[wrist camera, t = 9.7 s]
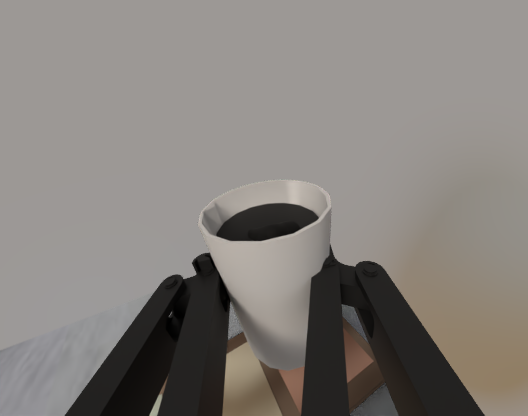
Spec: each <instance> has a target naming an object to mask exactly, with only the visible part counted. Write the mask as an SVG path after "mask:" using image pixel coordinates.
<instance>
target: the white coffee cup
mask: <svg viewBox="0 0 528 416" xmlns="http://www.w3.org/2000/svg"><path fill="white" fill-rule="evenodd" d="M198 226H199V228H200V231H201V233H202V235H203V238H204V240H205V242H206V245H207V247H208V249H209V252H210V254H211V257H212V259H213V260H214V264H215V265H216V268H217V270H218V271H219V274H220V276H221V279H222V281H223V284H224V286H225V288H226V291H227V293H228V296H229V298H230V301H231V304H232V306H233V308H234V311H235V313H236V316H237V318H238V320H239V323H240V325H241V327H242V330H243V332H244V334H245V337H246V339H247V342H248V344H249V346H250V347H251V349H252V351H253V353H254V355H255V356H256V358H258V359H259V360H260V361H262V362H263V363H265V364H266V365H267V366H269V367H270V368H275V369H281V370H286V371H289V370H293V369H296V368H300V367H303V366H305V355H306V341H307V328H308V315H309V301H310V288H311V277H313V276H314V275H316V274H317V273H318V272H320V270H321V269H322V266H323V263H324V261H325V259H326V258H328V256H329V251H330V228H331V200H330V195H329V194H328V193H327V192H326V191H325V190H323V189H322V188H321V187H320V186H318V185H314V184H311V183H308V182H305V181H297V180H271V181H262V182H257V183H253V184H248V185H245V186H241V187H239V188H236V189H233V190H230V191H228V192H226V193H224V194H222V195H221V196H219V197H217V198H215V199H214V200H212V201H211V202H210V203H209V204H208V205H207V206H206V207H205V208H204V209H203V210H202V211H201V213H200V217H199V221H198Z"/></svg>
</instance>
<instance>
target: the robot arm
mask: <svg viewBox="0 0 528 416" xmlns="http://www.w3.org/2000/svg"><path fill="white" fill-rule="evenodd" d="M192 264H193V266H194V269H195V271H196V273H197V274H196V275H195V276H193V277H190V278H187V279H183V277H182V276H181V275H172V276H170V277H168V278H166V279H165V280H164V281H163V282H162V283H161V284H160V286H159V287H158V288H157V290H156V291H155V292H154V294H153V295H152V296H151V298H150V299H149V300H148V302H147V303H146V305H145V306H144V307H143V309H142V310H141V311H140V313H139V314H138V316H137V317H136V318H135V320H134V321H133V322H132V324H131V325H130V327H129V328H128V329H127V331H126V332H125V333H124V335H123V336H122V338H121V339H120V340H119V342H118V343H117V344H116V346H115V347H114V349H113V350H112V351H111V353H110V354H109V355H108V357H107V358H106V360H105V361H104V362H103V364H102V365H101V366H100V368H99V369H98V371H97V372H96V373H95V375H94V376H93V377H92V379H91V380H90V382H89V383H88V384H87V386H86V387H85V388H84V390H83V391H82V393H81V394H80V395H79V397H78V398H77V399H76V401H75V402H74V404H73V405H72V406H71V408H70V409H69V410H68V412H67V413H66V414H65V416H149V415H150V413H151V411H152V409H153V407H154V404H155V402H156V400H157V398H158V396H159V394H160V392H161V389H162V387H163V385H164V383H165V381H166V379H167V382H166V385H165V389H164V393H163V396H162V400H161V403H160V407H159V411H158V414H157V416H222V414H223V399H224V384H225V370H226V355H227V341H228V326H229V311H230V298H229V296H228V293H227V291H226V288H225V286H224V284H223V281H222V279H221V276H220V274H219V271H218V270H217V268H216V265H215V264H214V260H213V259H212V257H211V254H210V253H204V254H201V255H199V256H198V257H196V258H195V259H194V260H193V262H192ZM341 304H344V305H348V306H352V307H354V308H355V311H356V313H357V315H358V318H359V320H360V323H361V325H362V327H363V330H364V332H365V335H366V337H367V340H368V342H369V344H370V347H371V349H372V352H373V354H374V356H375V359H376V361H377V364H378V366H379V369H380V371H381V373H382V376H383V378H384V381H385V383H386V385H387V388H388V390H389V393H390V395H391V398H392V400H393V402H394V405H395V407H396V410H397V412H398V414H399V416H485V415H484V414H483V412H482V411H481V410H480V408H479V407H478V405H477V404H476V402H475V401H474V399H473V398H472V396H471V395H470V394H469V392H468V391H467V389H466V388H465V386H464V385H463V383H462V382H461V380H460V379H459V378H458V376H457V375H456V373H455V372H454V370H453V369H452V368H451V366H450V364H449V363H448V362H447V360H446V359H445V357H444V356H443V354H442V353H441V351H440V350H439V348H438V347H437V345H436V344H435V343H434V341H433V340H432V338H431V337H430V335H429V334H428V332H427V331H426V330H425V328H424V326H422V324H421V322H420V321H419V319H418V318H417V316H416V315H415V313H414V312H413V311H412V309H411V308H410V306H409V305H408V303H407V302H406V300H405V299H404V297H403V296H402V294H401V293H400V292H399V290H398V289H397V287H396V286H395V284H394V283H393V281H392V280H391V278H390V277H389V276H388V274H387V273H386V271H385V270H384V269H383V268H382V266H381V265H378V264H377V263H375V262H371V261H363V262H359V263H358V264H357V265H356V267H354V266H348V265H344V264H342V263H340V262H338V261H337V260H336V259H335V257H334V255H333V252H332V249H331V245H330V251H329V256H328V258H326V259H325V261H324V263H323V266H322V269H321V270H320V272H318V273H317V274H316V275H314V276H313V277H311V288H310V301H309V315H308V328H307V341H306V355H305V368H304V381H303V394H302V408H301V416H350V412H349V399H348V386H347V372H346V359H345V345H344V332H343V318H342V305H341ZM171 312H172V314H171ZM170 314H171V315H170ZM169 315H170V316H169ZM168 374H169V375H168ZM167 376H168V378H167Z"/></svg>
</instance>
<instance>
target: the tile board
mask: <svg viewBox="0 0 528 416" xmlns="http://www.w3.org/2000/svg"><path fill="white" fill-rule="evenodd" d="M342 318H343V317H342ZM343 332H344V345H345V359H346V372H347V386H348V399H349V412H350V413H351V412H352V411H353V410H354V409H355V408H357V407H358V406H359V405H360V404H361V403H362V402H363V401H364V400H366V399H367V398H368V397H369V396H370V395H371V394H372V393H373V392H374V391H376V390H377V389H378V388H379V387H380V386H381V385H382V384H383V383H385V381H384V378H383V376H382V373H381V371H380V369H379V366H378V364H377V361H376V359H375V356H374V354H373V352H372V349H371V347H370V345H369V344H368V343H367V342H366V341H365V340H364V339H363V337H362V336H361V335H360V334H359V333H358V332H357V331H356V330H355V329H354V328H353V327H352V326H351V325H350V324H349V323H348V322H347V321H346V320H345V319H344V318H343ZM304 368H305V366H303V367H300V368H296V369H293V370H289V371H286V370H281V369H275V368H270V367H269V366H267V365H266V364H265V363H263V362H262V361H260V360H259V359H258V358H256V356H255V355H254V353H253V351H252V349H251V347H250V346H249V344H248V342H247V339H246V337H245V334H244V332H242V333H240V334H239V335H237V336H235V337H233V338H232V339H230V340H228V341H227V355H226V370H225V384H224V399H223V414H222V416H301V408H302V394H303V381H304ZM167 378H168V376H167ZM166 382H167V379H166V381H165V383H164V385H163V387H162V389H161V392H160V394H159V396H158V398H157V400H156V402H155V404H154V407H153V409H152V411H151V413H150V415H149V416H157V414H158V411H159V407H160V403H161V400H162V396H163V393H164V389H165V385H166Z"/></svg>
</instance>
